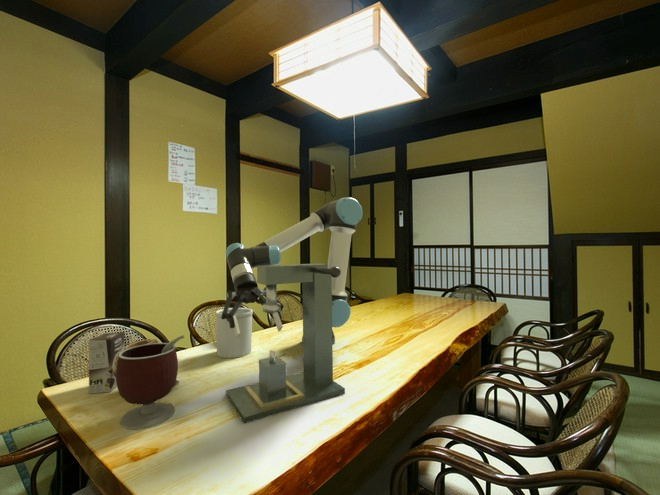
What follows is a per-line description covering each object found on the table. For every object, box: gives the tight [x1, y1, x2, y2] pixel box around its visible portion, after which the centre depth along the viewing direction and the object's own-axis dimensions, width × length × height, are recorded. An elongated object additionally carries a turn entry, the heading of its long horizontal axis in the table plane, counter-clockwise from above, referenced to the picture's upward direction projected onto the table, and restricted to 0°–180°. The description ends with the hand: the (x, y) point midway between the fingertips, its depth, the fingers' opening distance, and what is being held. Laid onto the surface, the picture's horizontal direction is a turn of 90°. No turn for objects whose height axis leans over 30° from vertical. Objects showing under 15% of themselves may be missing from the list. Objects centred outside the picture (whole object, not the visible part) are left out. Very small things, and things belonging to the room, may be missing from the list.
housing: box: [258, 349, 287, 400], centre depth 92 cm, size 6×7×12 cm
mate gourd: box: [116, 334, 185, 431], centre depth 83 cm, size 16×14×20 cm
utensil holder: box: [215, 307, 254, 359], centre depth 133 cm, size 15×15×18 cm
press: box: [225, 263, 346, 424], centre depth 91 cm, size 30×26×38 cm
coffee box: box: [88, 331, 125, 394], centre depth 101 cm, size 9×6×16 cm
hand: (260, 332), depth 99 cm, fingers open, 13 cm apart
